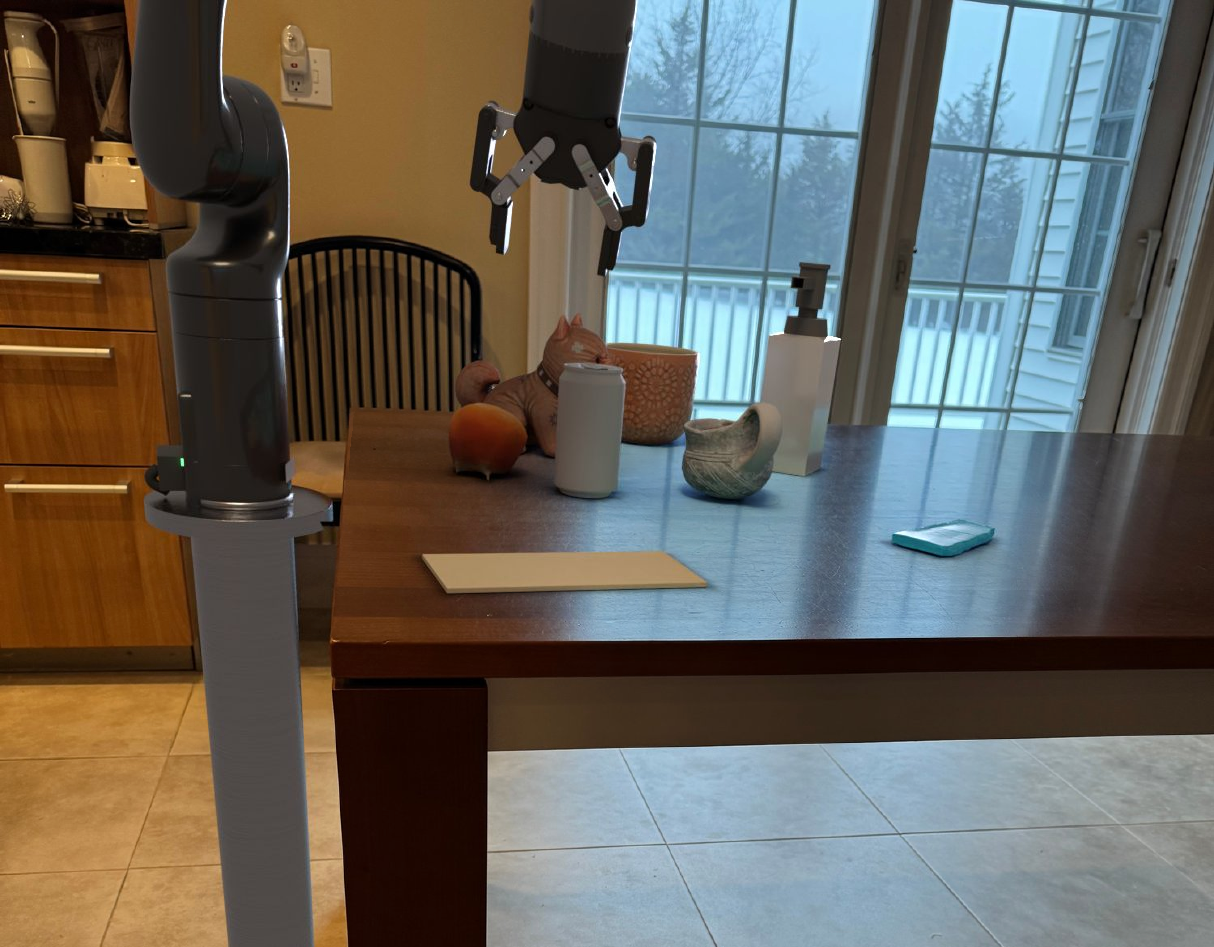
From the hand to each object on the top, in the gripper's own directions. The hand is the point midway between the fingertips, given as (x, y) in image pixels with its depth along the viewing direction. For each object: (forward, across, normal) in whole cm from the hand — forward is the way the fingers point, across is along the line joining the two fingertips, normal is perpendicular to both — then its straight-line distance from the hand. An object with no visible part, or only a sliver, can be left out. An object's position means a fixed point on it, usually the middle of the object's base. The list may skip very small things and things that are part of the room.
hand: (551, 262), depth 94 cm
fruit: (+25, +5, -9) cm, 27 cm away
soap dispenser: (+27, -27, -28) cm, 47 cm away
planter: (+32, -10, -39) cm, 51 cm away
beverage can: (+23, -6, -4) cm, 24 cm away
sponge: (+16, -40, +2) cm, 44 cm away
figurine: (+30, +2, -25) cm, 39 cm away
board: (+14, -7, +24) cm, 29 cm away
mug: (+22, -21, -8) cm, 31 cm away
